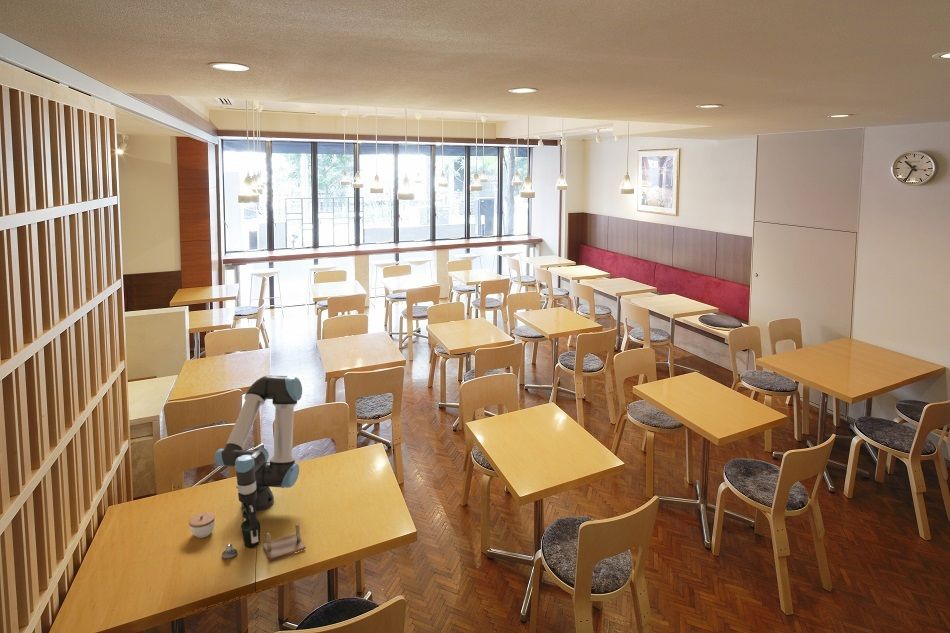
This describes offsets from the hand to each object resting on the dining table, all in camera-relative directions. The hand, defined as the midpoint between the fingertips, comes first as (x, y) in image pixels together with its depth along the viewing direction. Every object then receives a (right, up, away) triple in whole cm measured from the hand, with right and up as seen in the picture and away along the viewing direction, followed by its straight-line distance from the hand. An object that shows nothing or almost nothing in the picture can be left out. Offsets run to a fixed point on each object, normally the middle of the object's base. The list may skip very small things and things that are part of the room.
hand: (251, 534), depth 256 cm
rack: (+15, -5, -2) cm, 16 cm away
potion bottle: (0, -5, +1) cm, 5 cm away
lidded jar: (-25, -3, +9) cm, 27 cm away
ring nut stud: (-7, -6, -7) cm, 11 cm away
